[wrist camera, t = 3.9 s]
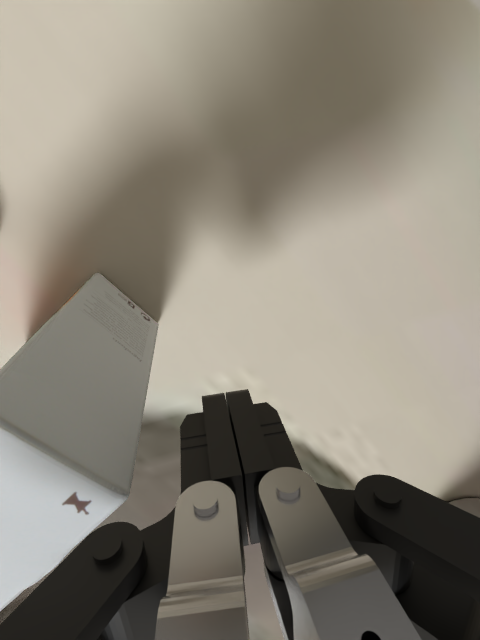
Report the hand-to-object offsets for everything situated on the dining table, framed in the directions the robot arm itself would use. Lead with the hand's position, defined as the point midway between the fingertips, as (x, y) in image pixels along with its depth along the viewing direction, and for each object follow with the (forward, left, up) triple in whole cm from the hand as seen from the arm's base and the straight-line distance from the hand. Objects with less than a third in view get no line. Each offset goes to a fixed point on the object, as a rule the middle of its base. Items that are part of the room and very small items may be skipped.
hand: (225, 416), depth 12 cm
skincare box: (+6, 0, -9) cm, 11 cm away
